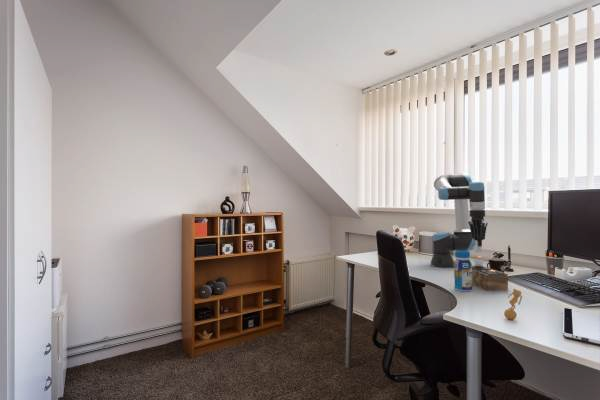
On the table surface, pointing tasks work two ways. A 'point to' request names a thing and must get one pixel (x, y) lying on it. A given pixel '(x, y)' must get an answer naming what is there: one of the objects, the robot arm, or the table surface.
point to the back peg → (478, 262)
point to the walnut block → (489, 279)
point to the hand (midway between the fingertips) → (478, 251)
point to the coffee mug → (496, 264)
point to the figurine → (510, 312)
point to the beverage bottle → (463, 271)
